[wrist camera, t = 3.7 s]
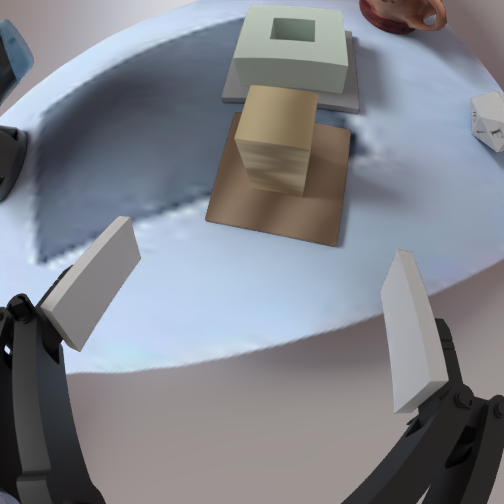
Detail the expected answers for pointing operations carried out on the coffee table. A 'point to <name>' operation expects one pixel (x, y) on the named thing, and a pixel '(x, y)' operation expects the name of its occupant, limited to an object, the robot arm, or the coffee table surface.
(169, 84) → the coffee table surface
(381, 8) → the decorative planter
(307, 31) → the square socket base
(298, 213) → the wooden t-shaped block
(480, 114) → the die
